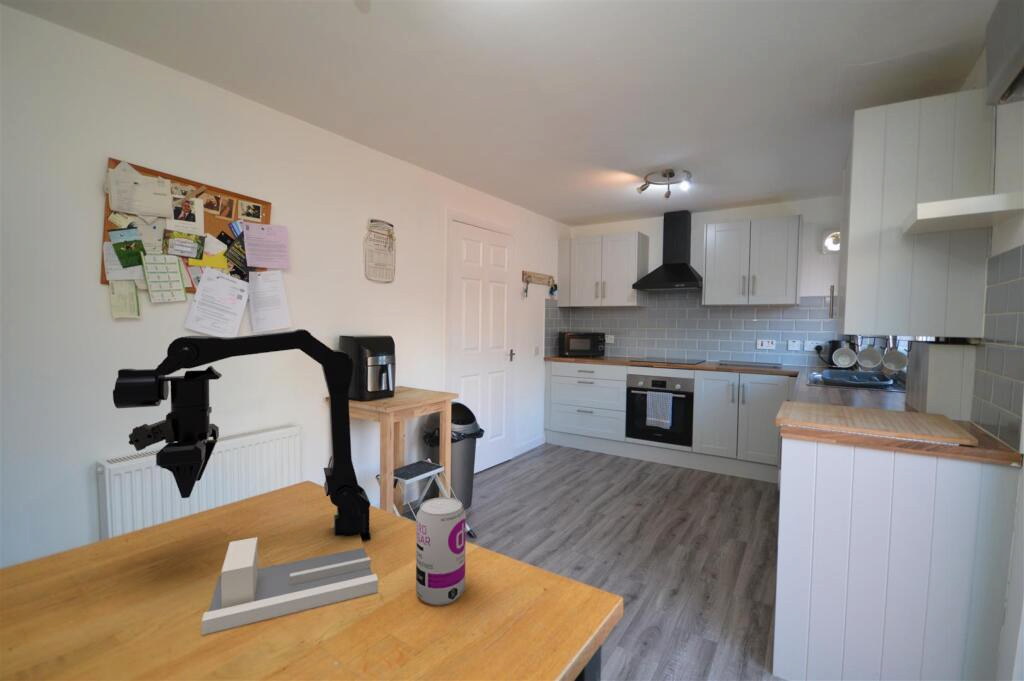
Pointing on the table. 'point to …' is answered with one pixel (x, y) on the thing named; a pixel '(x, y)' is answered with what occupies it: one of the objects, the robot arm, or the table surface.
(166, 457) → the robot arm
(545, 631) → the table surface
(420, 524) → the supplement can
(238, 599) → the carton
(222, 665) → the table surface
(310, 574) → the shelf board
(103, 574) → the table surface
